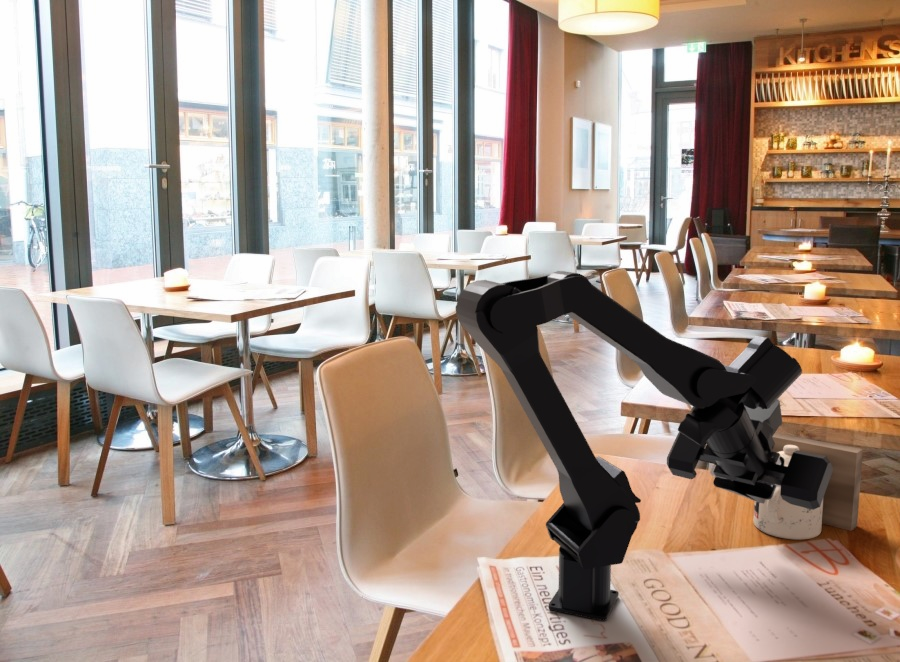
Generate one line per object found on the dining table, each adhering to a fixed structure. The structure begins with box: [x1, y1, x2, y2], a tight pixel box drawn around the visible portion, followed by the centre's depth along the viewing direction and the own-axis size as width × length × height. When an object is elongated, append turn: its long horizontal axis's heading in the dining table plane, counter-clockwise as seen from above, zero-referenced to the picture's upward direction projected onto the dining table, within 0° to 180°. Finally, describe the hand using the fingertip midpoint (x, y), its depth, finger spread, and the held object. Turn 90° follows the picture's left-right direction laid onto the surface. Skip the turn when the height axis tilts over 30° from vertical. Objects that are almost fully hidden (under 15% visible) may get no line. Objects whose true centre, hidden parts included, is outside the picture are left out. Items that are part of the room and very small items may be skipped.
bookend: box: [772, 432, 864, 532], centre depth 113 cm, size 2×13×11 cm, turn 46°
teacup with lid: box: [753, 445, 823, 541], centre depth 108 cm, size 12×9×12 cm
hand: (762, 499), depth 102 cm, fingers closed
